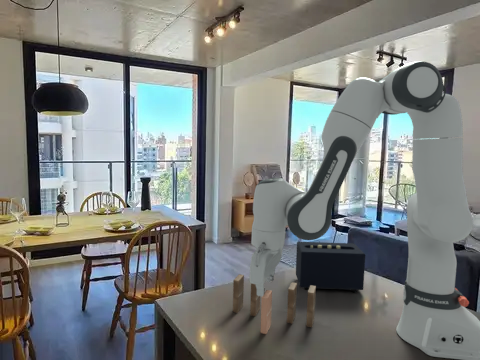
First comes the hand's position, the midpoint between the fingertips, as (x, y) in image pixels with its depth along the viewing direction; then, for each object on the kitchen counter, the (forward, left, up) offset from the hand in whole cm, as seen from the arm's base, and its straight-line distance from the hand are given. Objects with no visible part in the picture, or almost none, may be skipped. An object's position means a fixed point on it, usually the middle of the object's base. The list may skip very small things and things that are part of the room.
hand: (265, 288), depth 93 cm
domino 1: (+11, -8, -12) cm, 18 cm away
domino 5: (-11, -8, -12) cm, 18 cm away
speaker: (-14, -37, -12) cm, 41 cm away
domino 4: (-6, -8, -12) cm, 15 cm away
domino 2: (+5, -8, -12) cm, 15 cm away
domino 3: (-1, 0, -12) cm, 12 cm away
